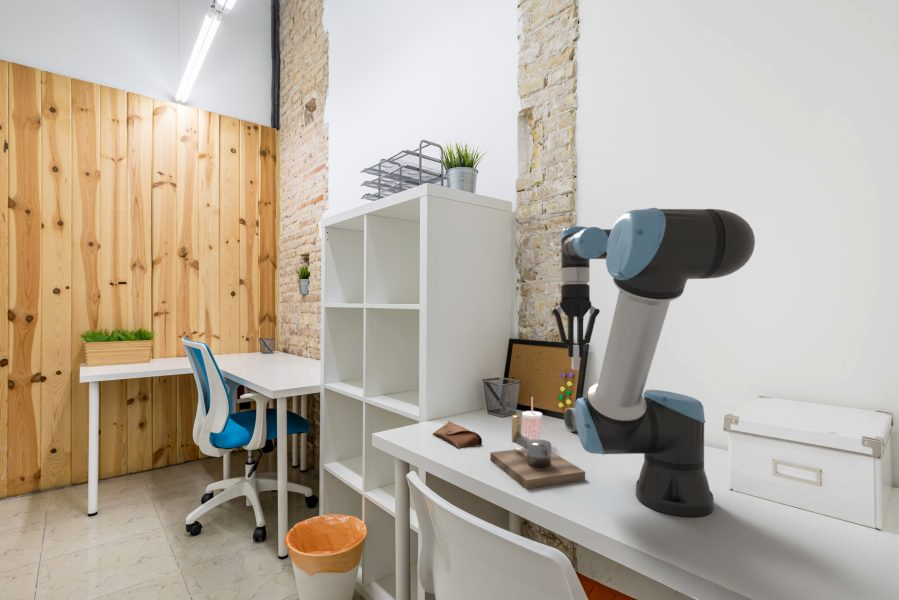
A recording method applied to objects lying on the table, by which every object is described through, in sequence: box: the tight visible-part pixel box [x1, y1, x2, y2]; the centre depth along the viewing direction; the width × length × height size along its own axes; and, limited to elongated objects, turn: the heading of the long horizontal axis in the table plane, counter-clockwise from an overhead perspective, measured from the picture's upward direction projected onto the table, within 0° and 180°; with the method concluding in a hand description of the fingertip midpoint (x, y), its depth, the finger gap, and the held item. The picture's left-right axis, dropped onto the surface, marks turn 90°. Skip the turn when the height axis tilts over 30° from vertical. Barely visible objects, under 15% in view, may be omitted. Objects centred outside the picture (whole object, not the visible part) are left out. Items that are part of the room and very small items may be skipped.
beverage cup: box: [521, 396, 543, 440], centre depth 137 cm, size 6×6×14 cm
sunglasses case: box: [432, 420, 483, 450], centre depth 141 cm, size 18×7×7 cm, turn 32°
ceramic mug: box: [563, 407, 578, 433], centre depth 152 cm, size 11×8×8 cm
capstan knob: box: [511, 414, 552, 467], centre depth 118 cm, size 15×6×9 cm, turn 22°
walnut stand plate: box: [489, 446, 586, 490], centre depth 116 cm, size 20×16×2 cm
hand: (575, 368), depth 125 cm, fingers closed
